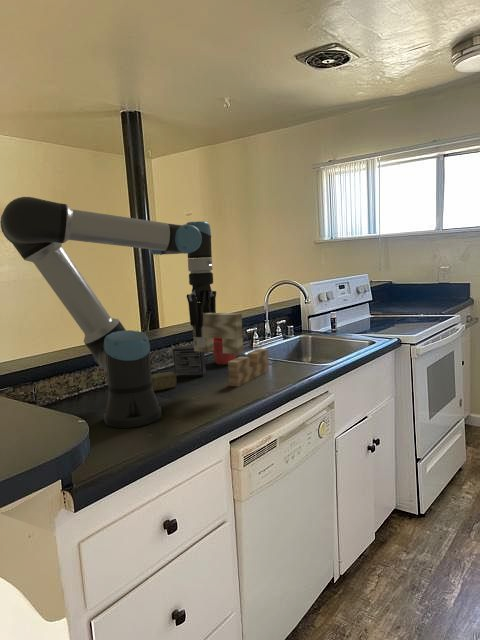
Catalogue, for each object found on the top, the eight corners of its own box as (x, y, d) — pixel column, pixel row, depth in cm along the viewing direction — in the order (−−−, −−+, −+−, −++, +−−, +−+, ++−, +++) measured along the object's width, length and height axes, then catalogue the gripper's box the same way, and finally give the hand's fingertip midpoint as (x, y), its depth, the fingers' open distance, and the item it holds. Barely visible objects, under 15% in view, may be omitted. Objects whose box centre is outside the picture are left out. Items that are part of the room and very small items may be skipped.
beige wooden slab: (243, 352, 150) (241, 313, 148) (237, 354, 147) (235, 315, 145) (200, 349, 158) (198, 312, 156) (194, 351, 155) (192, 313, 153)
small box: (206, 372, 180) (204, 344, 178) (203, 376, 173) (201, 347, 172) (178, 373, 181) (176, 345, 180) (174, 377, 175) (172, 349, 173)
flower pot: (213, 360, 200) (211, 336, 198) (239, 358, 199) (238, 335, 198) (210, 366, 189) (208, 341, 188) (238, 364, 189) (237, 340, 187)
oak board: (238, 386, 158) (237, 362, 157) (229, 385, 160) (227, 361, 159) (268, 370, 177) (267, 349, 176) (260, 369, 179) (259, 348, 178)
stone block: (178, 387, 161) (177, 373, 161) (145, 394, 156) (143, 379, 155) (171, 384, 166) (170, 370, 166) (139, 390, 161) (137, 376, 160)
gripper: (195, 273, 143) (199, 351, 146) (224, 270, 157) (228, 341, 160) (174, 273, 146) (179, 350, 149) (205, 271, 161) (209, 340, 164)
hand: (204, 345), depth 155 cm, fingers closed on beige wooden slab, 3 cm apart
